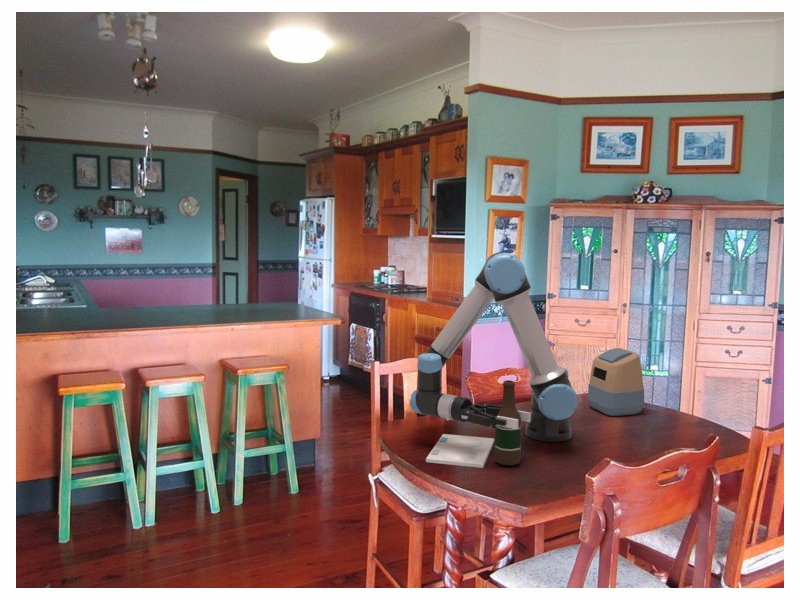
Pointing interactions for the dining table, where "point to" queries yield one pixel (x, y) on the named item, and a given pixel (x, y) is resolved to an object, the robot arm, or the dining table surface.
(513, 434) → the beer bottle
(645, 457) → the dining table surface
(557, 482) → the dining table surface
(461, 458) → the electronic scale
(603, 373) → the tan tapered boxy piece
